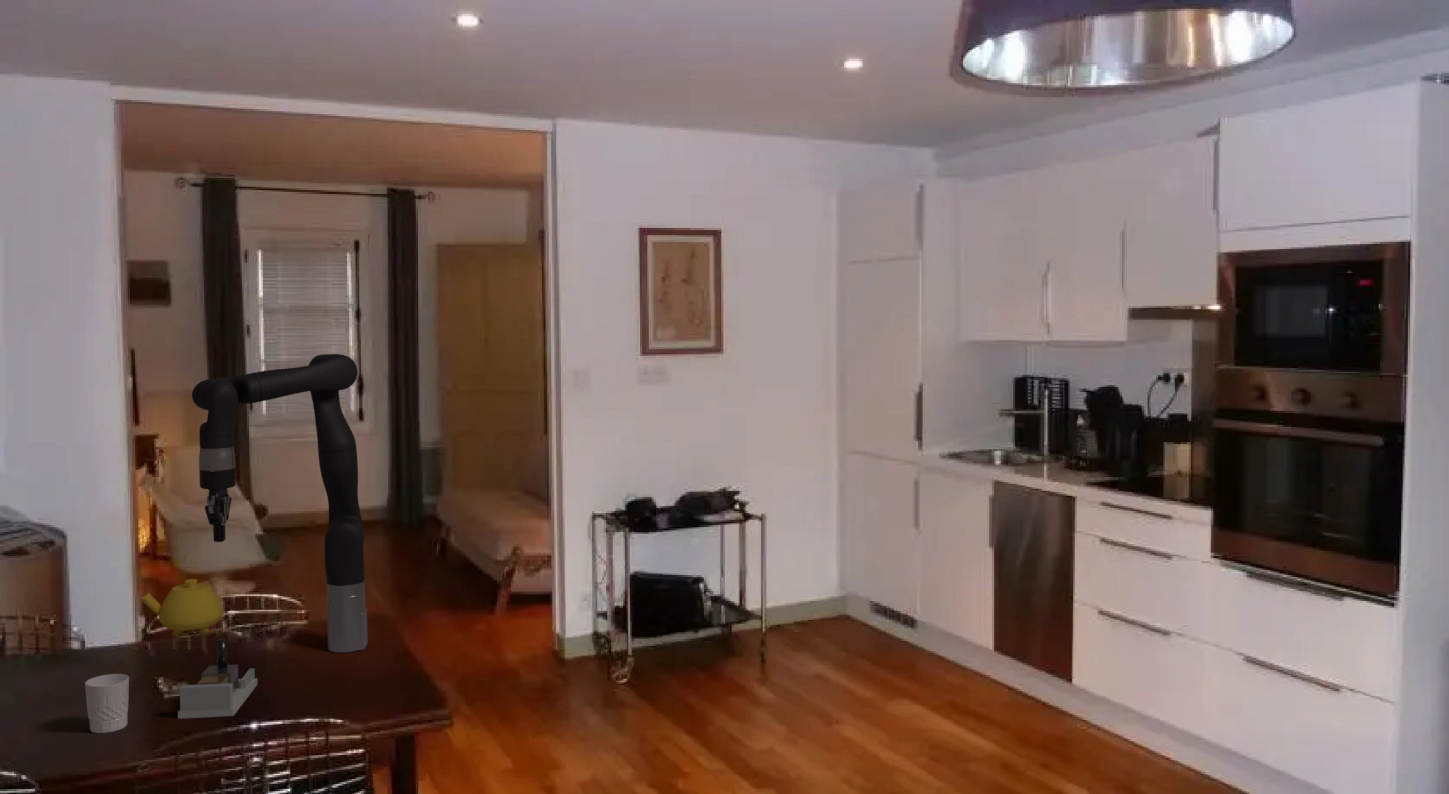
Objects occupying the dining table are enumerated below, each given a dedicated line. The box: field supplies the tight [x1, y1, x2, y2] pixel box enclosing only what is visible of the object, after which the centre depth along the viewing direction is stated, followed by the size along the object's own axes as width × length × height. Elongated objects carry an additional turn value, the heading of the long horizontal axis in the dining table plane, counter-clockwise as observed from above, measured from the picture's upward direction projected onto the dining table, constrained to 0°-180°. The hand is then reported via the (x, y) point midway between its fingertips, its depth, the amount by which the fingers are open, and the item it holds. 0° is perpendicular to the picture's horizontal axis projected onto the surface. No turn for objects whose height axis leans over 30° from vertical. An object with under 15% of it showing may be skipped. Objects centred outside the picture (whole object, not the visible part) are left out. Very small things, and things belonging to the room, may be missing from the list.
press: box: [177, 668, 258, 720], centre depth 242 cm, size 21×11×6 cm, turn 9°
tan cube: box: [196, 675, 229, 685], centre depth 237 cm, size 5×5×5 cm
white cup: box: [84, 673, 130, 734], centre depth 226 cm, size 8×8×10 cm
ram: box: [200, 638, 239, 692], centre depth 242 cm, size 6×6×11 cm
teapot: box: [140, 578, 225, 637], centre depth 294 cm, size 20×16×14 cm
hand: (219, 541), depth 252 cm, fingers closed
